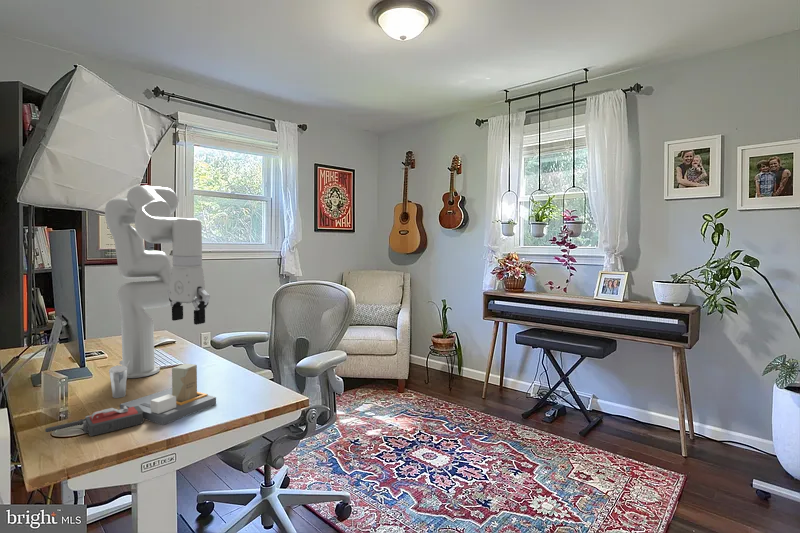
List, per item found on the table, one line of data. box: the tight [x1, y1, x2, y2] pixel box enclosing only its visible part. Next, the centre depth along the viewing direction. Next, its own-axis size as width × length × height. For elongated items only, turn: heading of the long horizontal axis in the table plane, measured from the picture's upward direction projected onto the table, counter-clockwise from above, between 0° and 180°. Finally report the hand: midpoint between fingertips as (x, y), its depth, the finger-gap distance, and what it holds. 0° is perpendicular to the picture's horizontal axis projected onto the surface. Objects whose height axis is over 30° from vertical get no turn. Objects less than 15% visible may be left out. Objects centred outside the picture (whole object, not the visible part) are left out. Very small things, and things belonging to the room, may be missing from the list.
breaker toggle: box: [151, 394, 176, 414], centre depth 115 cm, size 3×5×3 cm, turn 152°
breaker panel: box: [119, 387, 217, 426], centre depth 122 cm, size 18×16×2 cm
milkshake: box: [108, 361, 129, 399], centre depth 131 cm, size 4×5×10 cm
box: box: [171, 363, 198, 402], centre depth 124 cm, size 5×4×11 cm
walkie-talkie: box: [44, 406, 144, 437], centre depth 108 cm, size 9×4×20 cm
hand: (188, 321), depth 127 cm, fingers open, 9 cm apart
